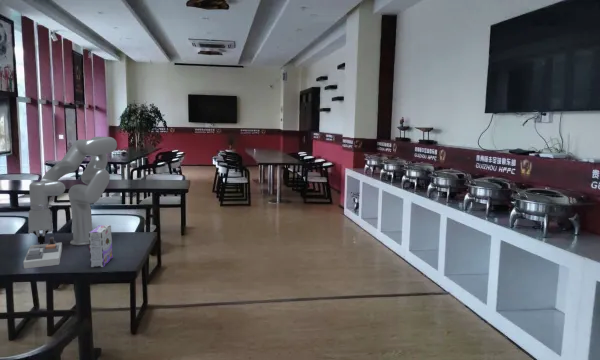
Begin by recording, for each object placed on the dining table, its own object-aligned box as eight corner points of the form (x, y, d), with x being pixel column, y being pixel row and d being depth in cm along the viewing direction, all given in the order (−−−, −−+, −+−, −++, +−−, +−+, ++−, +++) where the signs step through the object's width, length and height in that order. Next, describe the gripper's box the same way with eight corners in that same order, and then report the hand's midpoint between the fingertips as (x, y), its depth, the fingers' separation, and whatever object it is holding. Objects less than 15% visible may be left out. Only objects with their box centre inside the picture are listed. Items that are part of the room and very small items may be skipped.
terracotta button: (55, 248, 224) (55, 243, 224) (55, 250, 221) (55, 246, 220) (46, 249, 223) (46, 244, 222) (45, 251, 219) (45, 247, 219)
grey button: (40, 252, 214) (39, 247, 213) (39, 254, 210) (38, 249, 210) (30, 253, 212) (29, 248, 212) (29, 256, 208) (28, 250, 208)
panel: (62, 248, 237) (61, 239, 237) (59, 264, 210) (58, 254, 210) (31, 251, 231) (30, 242, 231) (23, 268, 205) (23, 258, 204)
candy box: (100, 258, 220) (98, 224, 218) (113, 258, 220) (111, 224, 218) (90, 267, 206) (88, 231, 204) (103, 267, 207) (101, 231, 205)
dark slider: (55, 243, 233) (55, 236, 232) (55, 246, 228) (54, 238, 228) (49, 244, 231) (48, 236, 231) (48, 247, 227) (47, 239, 226)
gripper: (56, 205, 232) (58, 240, 234) (22, 207, 225) (24, 243, 228) (56, 207, 225) (58, 244, 227) (20, 209, 219) (23, 247, 221)
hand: (41, 243), depth 227 cm, fingers closed
